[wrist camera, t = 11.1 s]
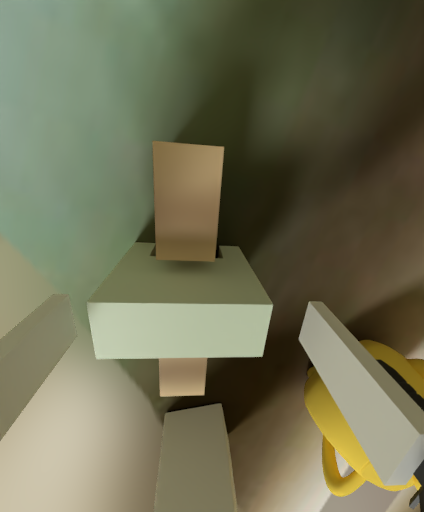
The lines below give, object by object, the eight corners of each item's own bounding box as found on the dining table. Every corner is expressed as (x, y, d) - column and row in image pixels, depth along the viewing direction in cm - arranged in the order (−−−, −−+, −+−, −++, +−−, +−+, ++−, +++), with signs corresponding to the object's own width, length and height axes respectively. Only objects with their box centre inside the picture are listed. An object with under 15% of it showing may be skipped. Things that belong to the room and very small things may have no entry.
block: (135, 242, 18) (86, 302, 10) (238, 246, 19) (273, 304, 11) (137, 278, 20) (96, 359, 11) (234, 280, 20) (262, 356, 12)
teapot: (387, 290, 22) (542, 385, 13) (434, 339, 26) (585, 445, 16) (265, 389, 27) (309, 519, 17) (319, 420, 30) (381, 544, 20)
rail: (166, 151, 16) (152, 140, 10) (213, 154, 16) (224, 146, 11) (168, 340, 22) (160, 396, 17) (201, 340, 23) (204, 395, 17)
